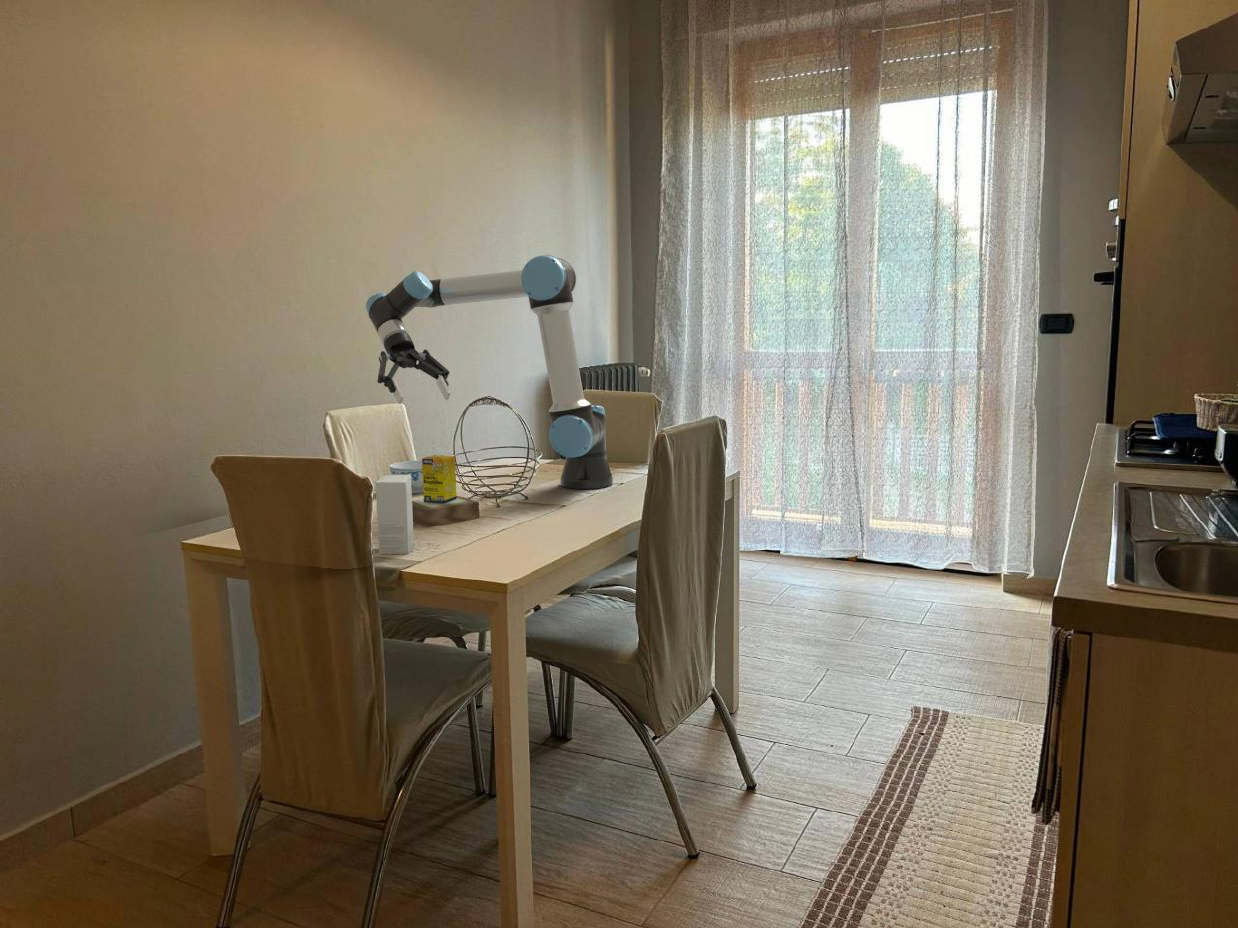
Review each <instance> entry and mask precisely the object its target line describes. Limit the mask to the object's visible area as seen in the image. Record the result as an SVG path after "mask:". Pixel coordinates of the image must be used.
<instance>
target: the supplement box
mask: <svg viewBox="0 0 1238 928" xmlns="http://www.w3.org/2000/svg"><path fill="white" fill-rule="evenodd" d="M421 460H422V473H423V499H424V502H433V503H447V502H450V501H453V500H455V499H457V496H458V495H457V475H456V471H457V470H456V456H455V455H443V454H442V455H441V454H439V455H438V454H432V455H429V456H424V457H421Z"/></svg>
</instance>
